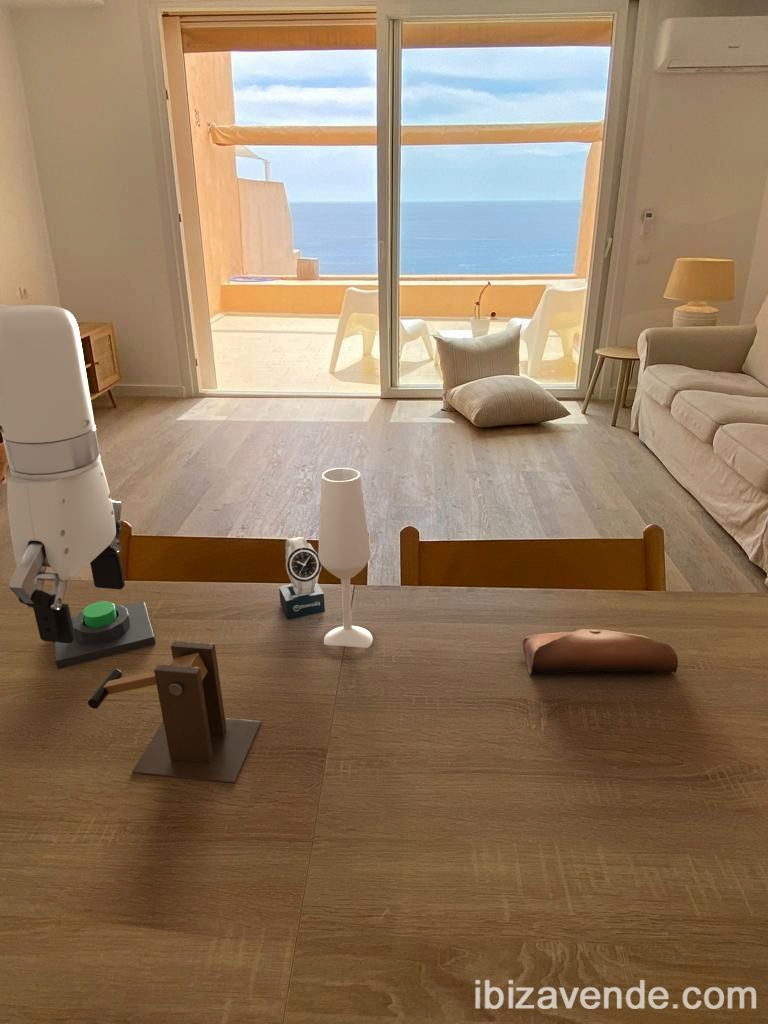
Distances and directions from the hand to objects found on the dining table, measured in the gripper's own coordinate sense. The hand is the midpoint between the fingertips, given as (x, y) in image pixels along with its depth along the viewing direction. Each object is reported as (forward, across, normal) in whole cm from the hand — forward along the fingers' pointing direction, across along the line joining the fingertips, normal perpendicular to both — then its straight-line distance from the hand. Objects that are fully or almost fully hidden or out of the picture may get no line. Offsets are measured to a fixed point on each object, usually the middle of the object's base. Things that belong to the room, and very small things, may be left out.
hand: (85, 612), depth 69 cm
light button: (+14, -18, -11) cm, 25 cm away
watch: (+17, -30, +14) cm, 37 cm away
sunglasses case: (+16, -22, +54) cm, 61 cm away
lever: (+9, 0, +6) cm, 11 cm away
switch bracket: (+17, 0, +10) cm, 20 cm away
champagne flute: (+17, -23, +22) cm, 36 cm away
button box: (+18, -18, -11) cm, 28 cm away
